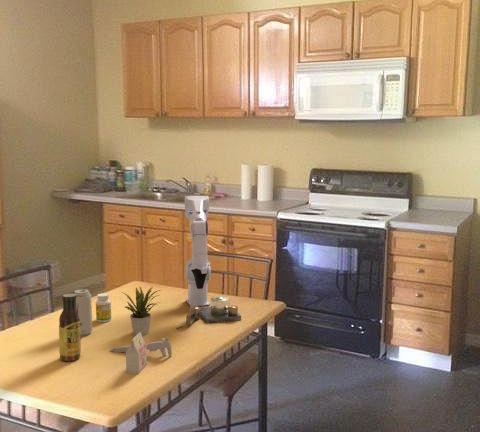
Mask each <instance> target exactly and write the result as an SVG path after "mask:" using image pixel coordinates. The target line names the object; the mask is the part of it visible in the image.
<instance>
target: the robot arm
mask: <svg viewBox="0 0 480 432" xmlns="http://www.w3.org/2000/svg"><path fill="white" fill-rule="evenodd" d="M209 199H210V198H209V196H208V195H198V196H197V195H195V196H194V195H192V196H191V195H189V196H188V195H185V197H184V215H185V218H186V219H188V220H189V221H190V226H189V227H190V228H189V229H190V238H191V258H190V259H189V260H187V261H186V264H185V280H186V281H187V282H188V284H187V298H186V299H185V301H186V302H187V304H188V305H189V306H190V307H192V306H198V307H205V306H211V302H210V301H209V300H208V283H209V282H210V280H211V279H212V278H211V277H212V276H211V275H212V273H211V272H212V271H211V270H212V268H211V262H210V261H209V260H208V236H209V221H208V220H207V218H208V217H209V210H210V200H209Z"/></svg>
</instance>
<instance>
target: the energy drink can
mask: <svg viewBox="0 0 480 432" xmlns="http://www.w3.org/2000/svg"><path fill="white" fill-rule="evenodd" d="M73 294H76V310H77V313H78V316H79V319H80V332H81V337H86V336H89V335H90V334H91V333H92V332H93V314H92V312H93V311H92V294H91V292H90V290H89V289H88V288H80V289H79V288H78V289H76V290H74V293H73Z"/></svg>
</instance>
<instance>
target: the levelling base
mask: <svg viewBox="0 0 480 432" xmlns="http://www.w3.org/2000/svg"><path fill="white" fill-rule="evenodd" d="M230 303H231V300H230V297H228V296H224V295H217V296H216V295H215V296H212V297H210V306H200V316H201V318H202V319H203V320H204V322H205V323H206V324H213V323H222V322H223V323H224V322H231V321H239V320H240V321H241V320H242V315H241V313H239V306H238V305H233V304H232V305H231V304H230ZM183 326H184V325H179V326H177V327H176V329H177V330H179V329H181V328H183Z"/></svg>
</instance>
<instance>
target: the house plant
mask: <svg viewBox="0 0 480 432" xmlns="http://www.w3.org/2000/svg"><path fill="white" fill-rule="evenodd" d="M152 289H153V287H150V288H149V289H148V290H147V292H146V294H145V292H143V289H142V287H141V286H140V285H139V289H138V288H137V287H135V302H134V301H133V299H132V298H131V297H130V296H129V295H128V294H127V293H125V292H124V291H121V293H122V294H124V295H125V296H126V297H127V299H128V300H129V301H130V302H129V301H126V303H127V304H128V306H124V308H125V309H127V310H128V311H131V312H132V313H131V314H130V315H129V317H130V322H131V327H132V332H133V333H132V334H133V335H135V336H136V335H137V334H138V333H139V332H141V335H142V336H145V335H147V334H149V332H150V325H151V319H152V318H151V317H152V313H150V311H151V310H152V308H153V307H155V306H158V304H160V303H162V302H155V303H151V301H152V300H153V299H154V298H156V297H159V296H160V295H159V294H157V295H154V294H156V293H157V292H161V291H162V289H158V290H155V291H153V292H152ZM139 290H140V291H139ZM151 292H152V293H151ZM150 293H151V294H150ZM153 295H154V296H153ZM150 306H151V307H150Z"/></svg>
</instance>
